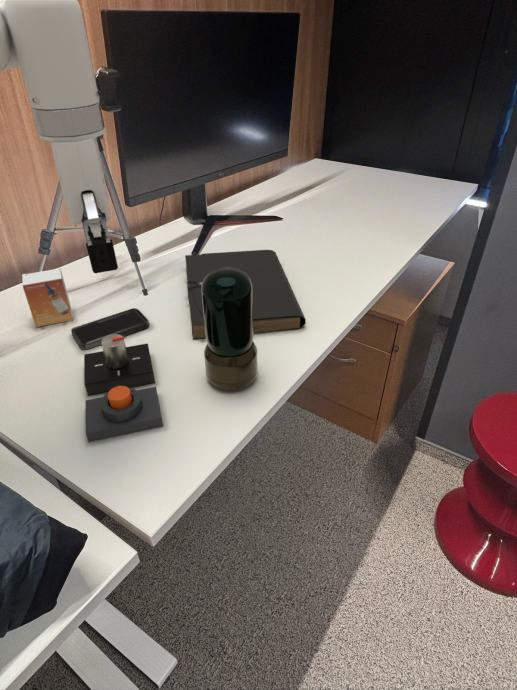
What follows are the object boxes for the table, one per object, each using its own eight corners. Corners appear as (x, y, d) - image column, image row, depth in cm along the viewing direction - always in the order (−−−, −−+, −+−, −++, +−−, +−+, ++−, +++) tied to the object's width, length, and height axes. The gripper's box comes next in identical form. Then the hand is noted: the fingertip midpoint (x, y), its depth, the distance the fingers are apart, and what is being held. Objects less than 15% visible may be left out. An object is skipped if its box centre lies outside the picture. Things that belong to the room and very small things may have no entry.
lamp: (200, 391, 87) (188, 283, 74) (213, 359, 94) (204, 256, 82) (252, 396, 86) (249, 288, 73) (261, 364, 93) (260, 260, 80)
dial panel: (88, 396, 86) (84, 383, 84) (87, 366, 93) (83, 353, 91) (155, 383, 89) (152, 370, 87) (150, 355, 96) (147, 342, 94)
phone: (150, 322, 103) (81, 346, 96) (151, 326, 104) (82, 350, 97) (135, 306, 109) (69, 328, 102) (136, 311, 109) (70, 332, 102)
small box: (35, 328, 104) (21, 285, 98) (35, 315, 108) (21, 273, 102) (74, 320, 107) (62, 278, 100) (72, 308, 111) (60, 266, 105)
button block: (88, 442, 77) (82, 424, 75) (88, 409, 83) (82, 392, 81) (163, 426, 80) (160, 408, 78) (157, 395, 86) (154, 378, 84)
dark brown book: (184, 254, 124) (276, 248, 127) (185, 268, 126) (275, 262, 129) (190, 323, 97) (306, 313, 101) (192, 340, 100) (305, 329, 103)
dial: (107, 370, 87) (101, 347, 84) (106, 357, 90) (100, 334, 87) (129, 366, 88) (124, 343, 85) (127, 354, 91) (122, 330, 88)
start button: (110, 411, 78) (107, 402, 77) (109, 397, 81) (107, 388, 79) (133, 407, 79) (131, 397, 77) (131, 393, 81) (129, 383, 80)
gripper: (36, 111, 62) (70, 236, 72) (35, 141, 49) (77, 289, 59) (96, 106, 64) (121, 228, 74) (111, 133, 51) (139, 278, 61)
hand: (102, 255), depth 66 cm, fingers open, 9 cm apart
